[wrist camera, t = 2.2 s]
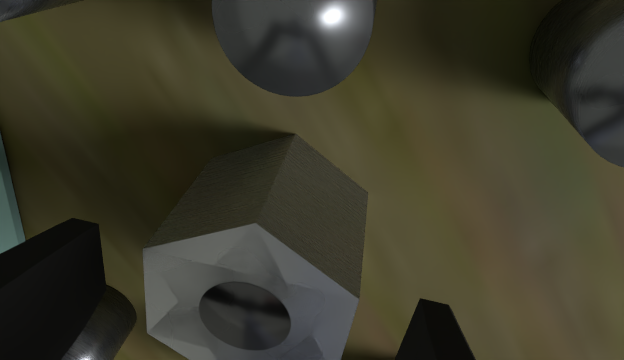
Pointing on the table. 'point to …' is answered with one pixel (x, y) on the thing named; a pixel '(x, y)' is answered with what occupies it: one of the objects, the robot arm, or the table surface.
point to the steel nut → (259, 258)
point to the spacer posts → (346, 56)
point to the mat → (8, 208)
